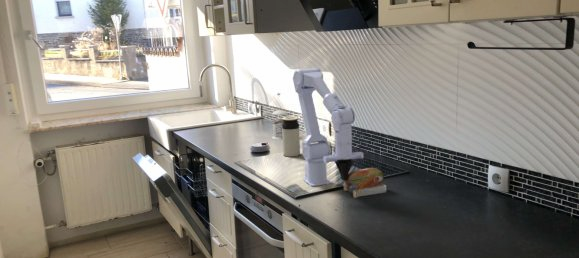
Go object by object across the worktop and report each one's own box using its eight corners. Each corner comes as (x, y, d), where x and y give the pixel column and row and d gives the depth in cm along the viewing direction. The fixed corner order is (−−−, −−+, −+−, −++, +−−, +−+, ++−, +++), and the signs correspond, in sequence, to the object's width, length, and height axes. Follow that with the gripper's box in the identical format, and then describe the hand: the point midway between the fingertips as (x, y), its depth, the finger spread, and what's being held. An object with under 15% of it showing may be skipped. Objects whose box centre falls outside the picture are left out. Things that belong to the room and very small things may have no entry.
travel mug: (285, 157, 226) (284, 119, 222) (281, 153, 233) (280, 117, 230) (302, 155, 228) (300, 118, 224) (297, 152, 235) (296, 115, 232)
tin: (348, 196, 170) (348, 173, 169) (344, 193, 173) (343, 171, 172) (384, 189, 176) (384, 167, 174) (379, 187, 179) (379, 165, 177)
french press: (269, 136, 272) (266, 92, 267) (287, 134, 277) (285, 91, 272) (275, 140, 264) (273, 94, 259) (295, 137, 268) (293, 92, 263)
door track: (342, 189, 177) (342, 183, 177) (374, 185, 181) (374, 178, 181) (354, 197, 168) (354, 191, 168) (387, 192, 172) (387, 186, 172)
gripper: (328, 147, 163) (329, 185, 165) (367, 142, 167) (367, 180, 170) (320, 143, 169) (321, 180, 172) (358, 138, 174) (358, 174, 176)
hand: (344, 179), depth 171 cm, fingers closed
